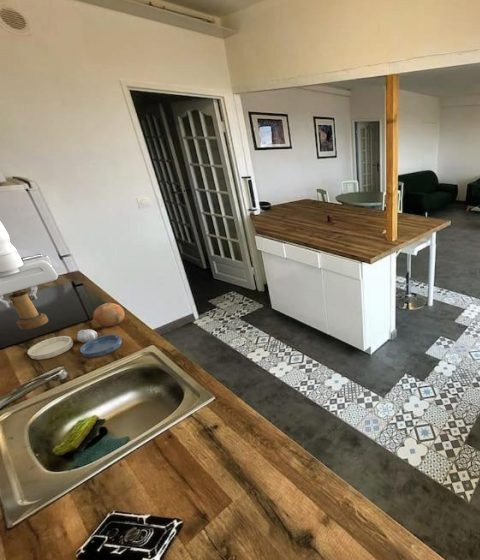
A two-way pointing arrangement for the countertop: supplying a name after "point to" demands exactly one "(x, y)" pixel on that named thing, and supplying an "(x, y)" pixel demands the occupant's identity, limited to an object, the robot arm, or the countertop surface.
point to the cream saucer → (50, 347)
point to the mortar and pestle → (27, 311)
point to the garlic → (86, 335)
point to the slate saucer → (101, 346)
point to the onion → (108, 314)
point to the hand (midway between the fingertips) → (22, 302)
